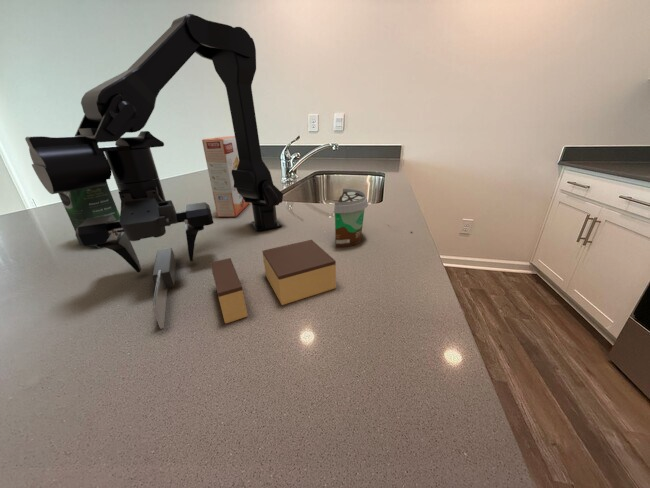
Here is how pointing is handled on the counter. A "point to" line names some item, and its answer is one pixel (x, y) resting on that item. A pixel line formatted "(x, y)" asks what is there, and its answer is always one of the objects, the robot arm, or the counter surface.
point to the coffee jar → (89, 204)
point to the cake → (299, 270)
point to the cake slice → (229, 290)
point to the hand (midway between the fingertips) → (166, 265)
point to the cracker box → (223, 174)
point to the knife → (163, 282)
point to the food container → (349, 217)
